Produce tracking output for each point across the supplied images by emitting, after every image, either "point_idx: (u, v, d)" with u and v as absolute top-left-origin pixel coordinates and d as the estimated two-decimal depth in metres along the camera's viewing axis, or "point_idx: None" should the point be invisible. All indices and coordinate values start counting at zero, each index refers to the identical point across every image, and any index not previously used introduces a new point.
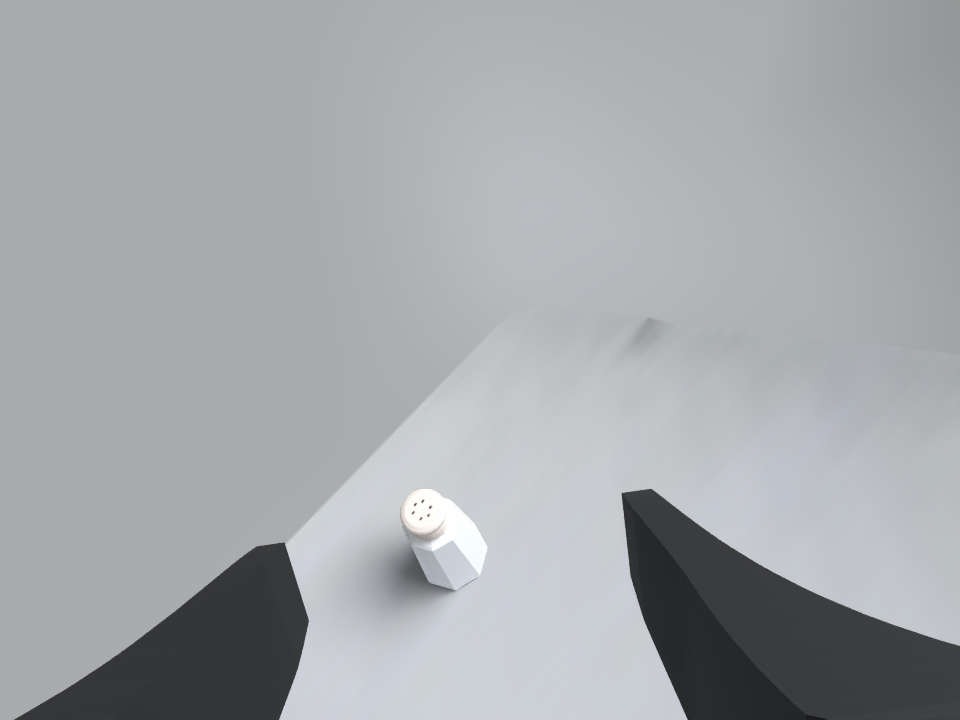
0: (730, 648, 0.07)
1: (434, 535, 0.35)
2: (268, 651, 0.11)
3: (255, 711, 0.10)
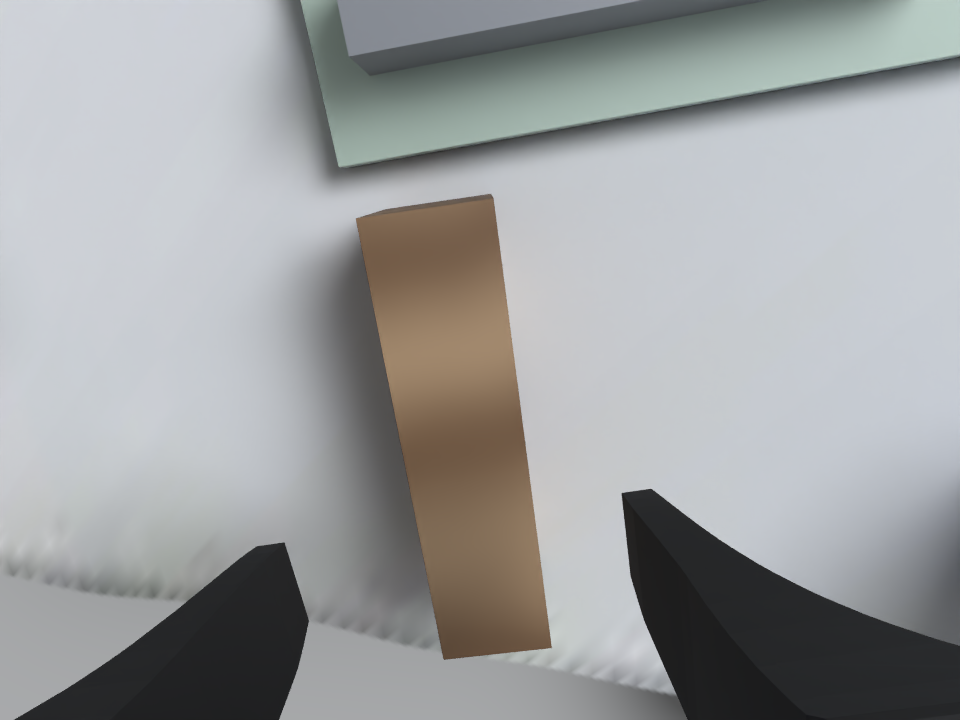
0: (730, 648, 0.07)
1: None
2: (268, 651, 0.11)
3: (255, 711, 0.10)
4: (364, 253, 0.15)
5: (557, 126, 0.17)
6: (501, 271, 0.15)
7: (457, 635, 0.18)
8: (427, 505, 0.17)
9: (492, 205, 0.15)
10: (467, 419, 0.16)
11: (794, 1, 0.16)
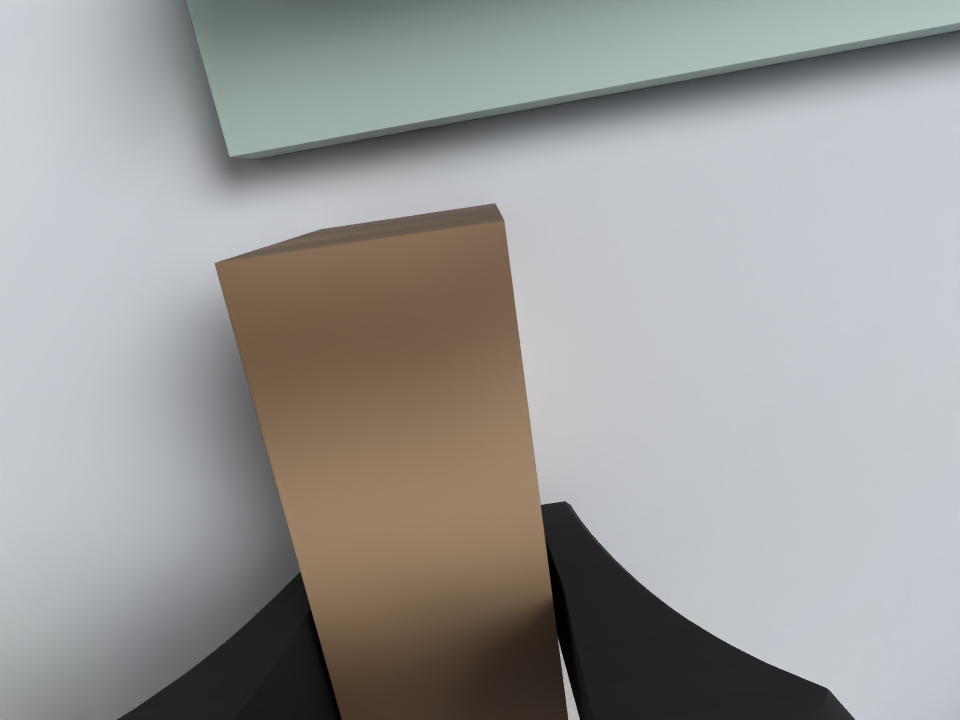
0: (580, 667, 0.07)
1: None
2: None
3: None
4: (237, 333, 0.07)
5: (617, 84, 0.10)
6: (520, 368, 0.07)
7: None
8: None
9: (502, 235, 0.07)
10: (453, 633, 0.09)
11: None
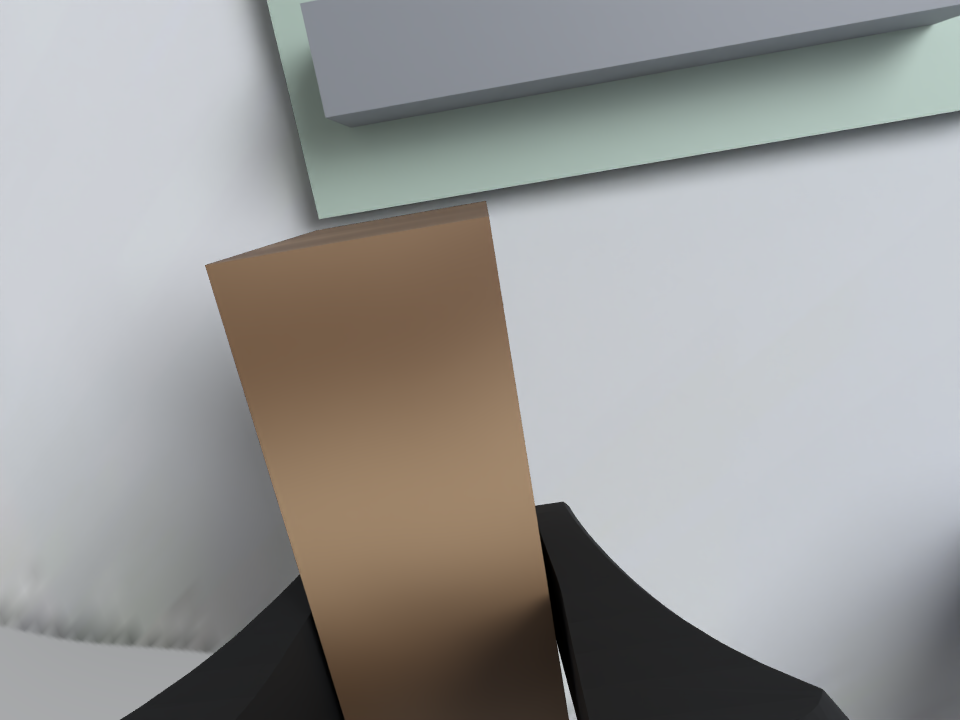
0: (576, 668, 0.07)
1: None
2: None
3: None
4: (229, 334, 0.07)
5: (544, 179, 0.17)
6: (509, 362, 0.07)
7: None
8: None
9: (487, 230, 0.07)
10: (451, 628, 0.09)
11: (788, 56, 0.16)
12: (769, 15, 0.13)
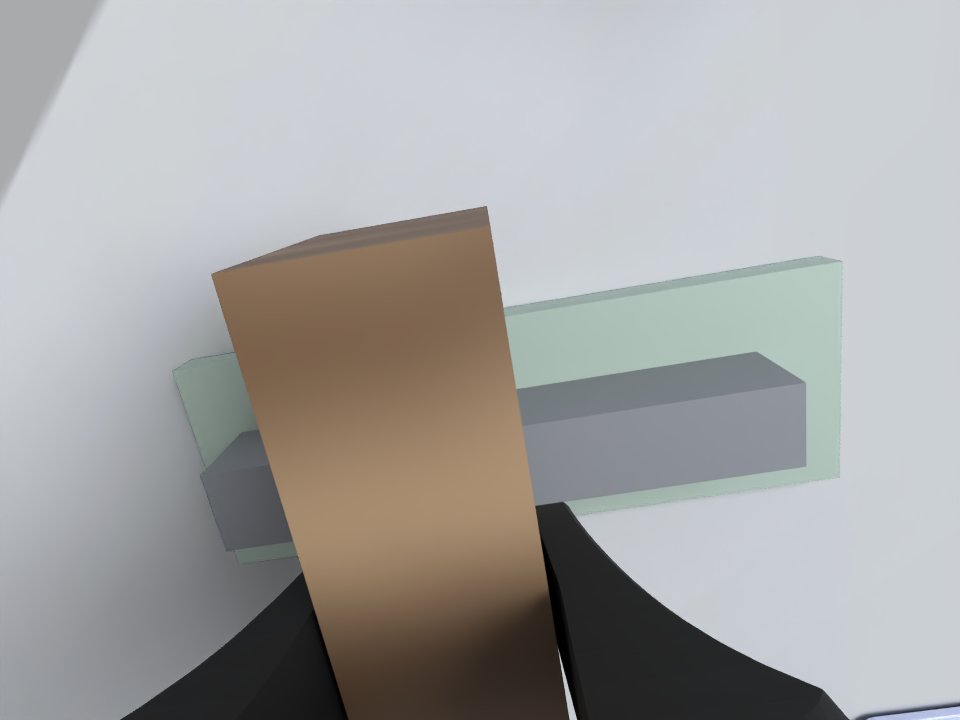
0: (576, 668, 0.07)
1: None
2: None
3: None
4: (235, 341, 0.07)
5: None
6: (510, 369, 0.08)
7: None
8: None
9: (488, 240, 0.07)
10: (453, 629, 0.09)
11: None
12: (592, 482, 0.16)
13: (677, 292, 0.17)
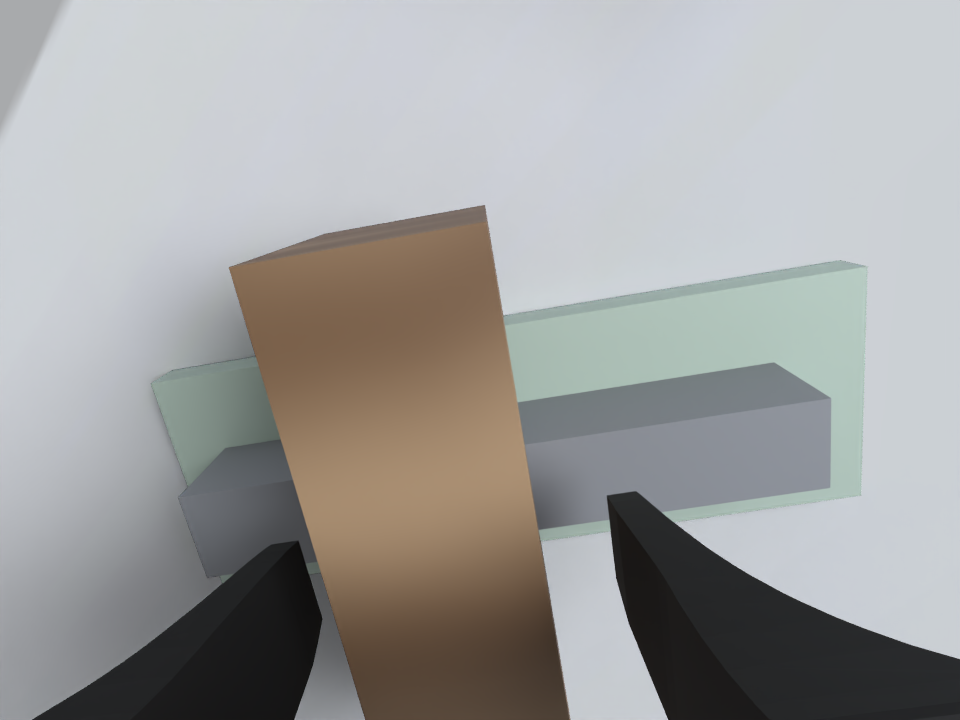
0: (703, 652, 0.07)
1: None
2: (284, 649, 0.11)
3: (272, 709, 0.10)
4: (250, 330, 0.08)
5: None
6: (506, 354, 0.08)
7: None
8: None
9: (485, 234, 0.08)
10: (454, 601, 0.09)
11: None
12: (600, 504, 0.15)
13: (690, 299, 0.16)
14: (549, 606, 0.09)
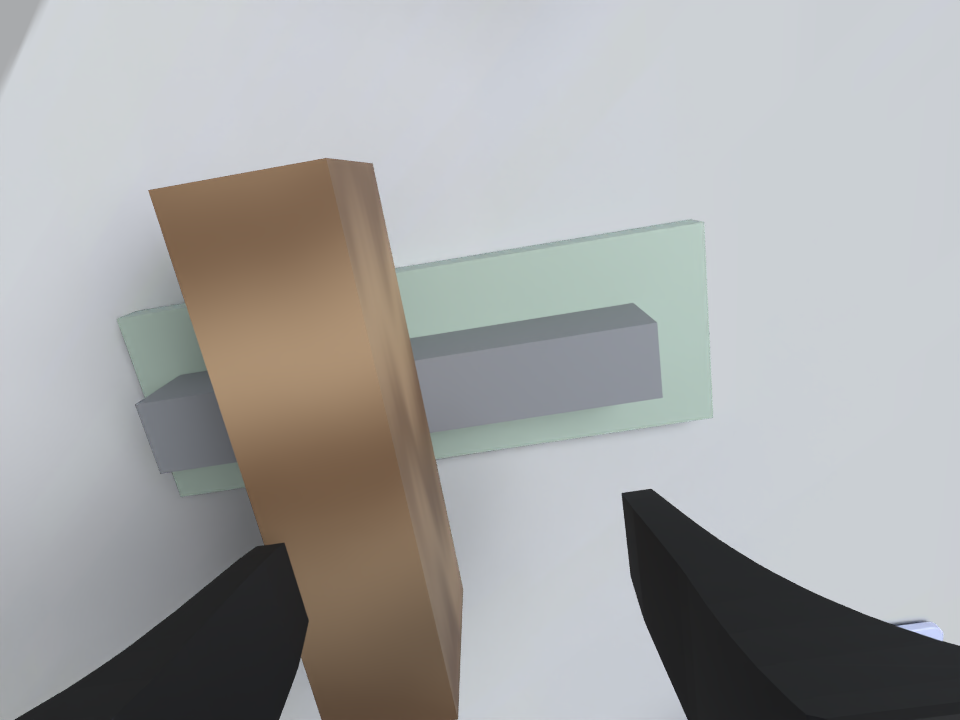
0: (730, 648, 0.07)
1: None
2: (268, 651, 0.11)
3: (255, 711, 0.10)
4: (165, 236, 0.11)
5: None
6: (346, 254, 0.11)
7: (341, 707, 0.15)
8: None
9: (325, 167, 0.11)
10: (323, 445, 0.13)
11: None
12: (478, 411, 0.18)
13: (561, 249, 0.19)
14: (394, 450, 0.13)
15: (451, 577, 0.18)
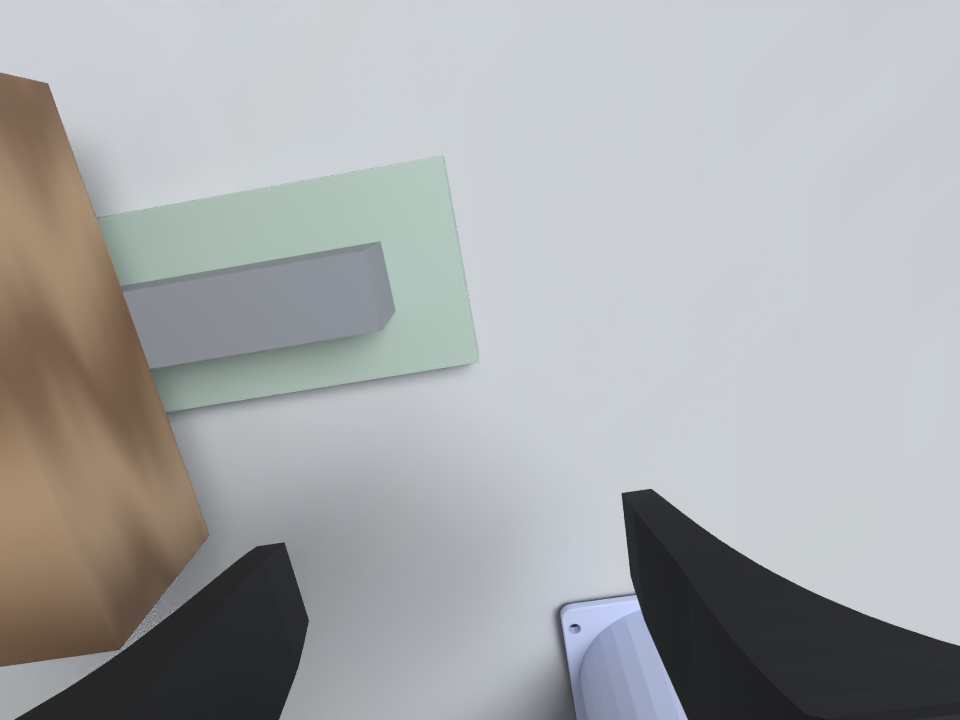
0: (730, 648, 0.07)
1: None
2: (268, 651, 0.11)
3: (255, 711, 0.10)
4: None
5: None
6: None
7: None
8: None
9: None
10: None
11: None
12: (195, 346, 0.18)
13: (300, 185, 0.19)
14: None
15: (166, 515, 0.17)
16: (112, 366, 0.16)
